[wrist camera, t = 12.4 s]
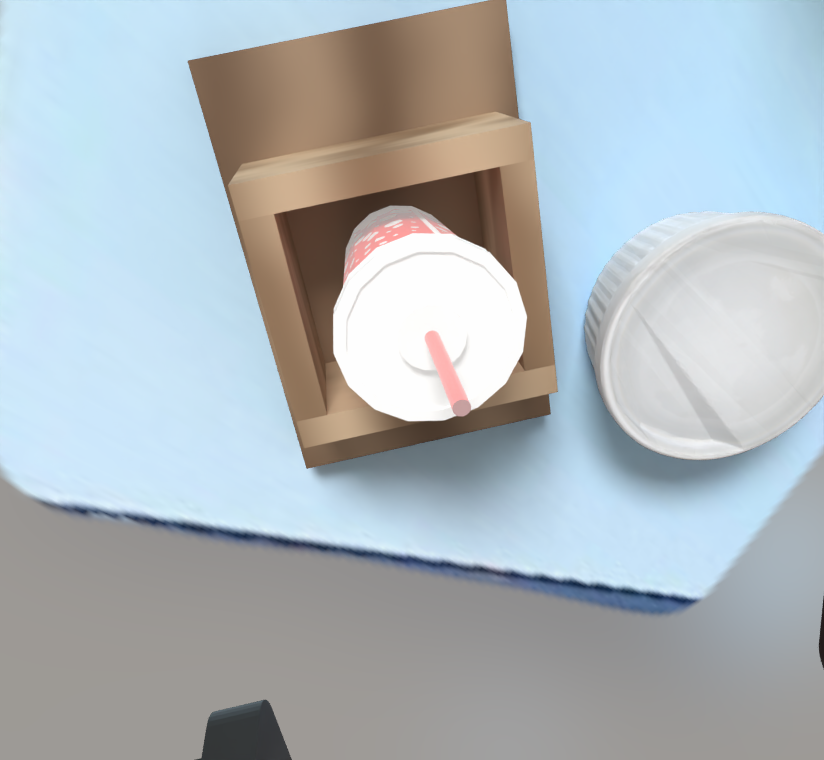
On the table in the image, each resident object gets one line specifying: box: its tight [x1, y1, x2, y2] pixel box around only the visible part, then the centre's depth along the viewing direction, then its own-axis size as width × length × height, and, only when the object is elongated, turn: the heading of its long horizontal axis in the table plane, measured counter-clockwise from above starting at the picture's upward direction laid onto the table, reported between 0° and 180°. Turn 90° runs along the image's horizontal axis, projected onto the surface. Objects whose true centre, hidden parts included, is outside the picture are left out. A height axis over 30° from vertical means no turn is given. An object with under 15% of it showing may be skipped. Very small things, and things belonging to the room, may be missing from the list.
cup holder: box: [188, 0, 558, 469], centre depth 28 cm, size 12×18×6 cm, turn 10°
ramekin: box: [584, 211, 824, 460], centre depth 32 cm, size 11×11×5 cm
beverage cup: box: [333, 206, 527, 421], centre depth 24 cm, size 6×6×14 cm
